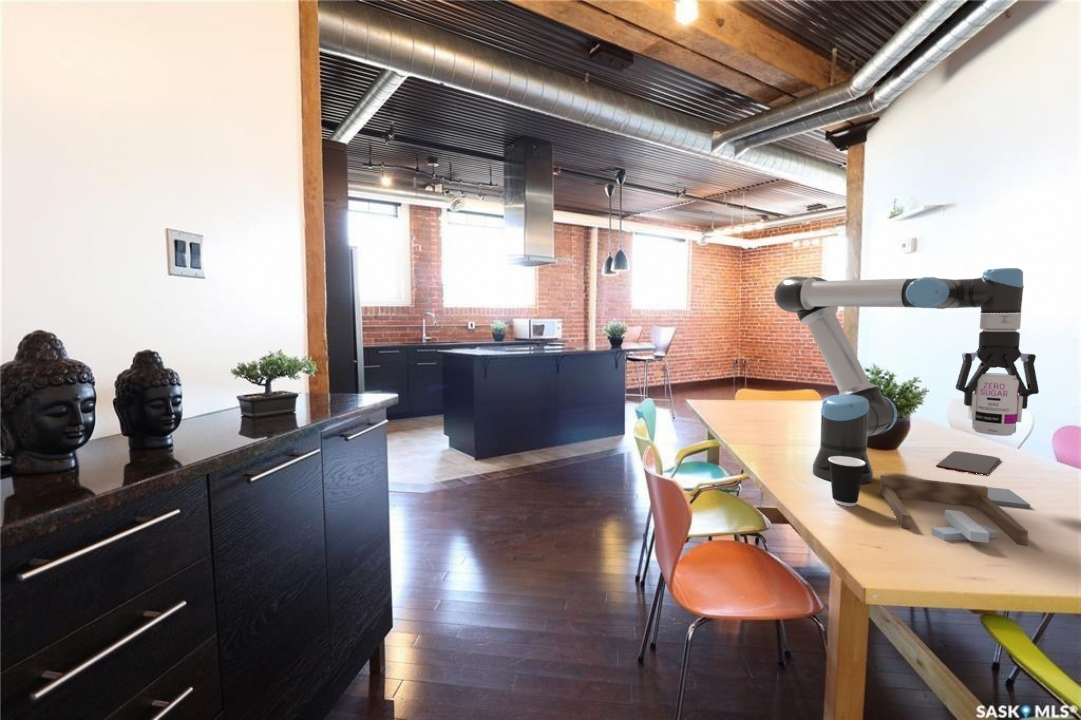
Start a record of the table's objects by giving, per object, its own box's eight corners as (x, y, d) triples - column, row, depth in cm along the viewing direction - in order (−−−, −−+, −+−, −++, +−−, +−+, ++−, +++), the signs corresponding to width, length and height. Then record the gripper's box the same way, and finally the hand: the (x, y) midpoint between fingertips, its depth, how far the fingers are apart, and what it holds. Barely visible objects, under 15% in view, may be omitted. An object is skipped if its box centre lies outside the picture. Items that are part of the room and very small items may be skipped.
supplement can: (1004, 430, 129) (1007, 373, 128) (1022, 437, 121) (1026, 376, 120) (965, 428, 132) (969, 372, 131) (981, 435, 124) (985, 375, 123)
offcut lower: (944, 543, 103) (944, 533, 103) (931, 536, 106) (932, 527, 106) (996, 540, 105) (997, 531, 104) (982, 534, 107) (983, 525, 107)
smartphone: (934, 464, 154) (953, 450, 170) (934, 469, 154) (952, 454, 170) (986, 474, 145) (1001, 457, 161) (986, 479, 145) (1001, 462, 161)
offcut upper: (988, 542, 99) (989, 533, 99) (970, 540, 100) (970, 531, 100) (960, 520, 110) (961, 511, 110) (944, 518, 111) (944, 509, 111)
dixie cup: (871, 508, 121) (873, 464, 120) (839, 509, 120) (841, 465, 120) (849, 497, 129) (851, 455, 128) (819, 498, 128) (821, 456, 127)
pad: (966, 501, 125) (967, 497, 125) (951, 486, 136) (951, 483, 136) (1029, 508, 120) (1030, 504, 120) (1008, 492, 131) (1009, 489, 131)
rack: (900, 527, 110) (901, 505, 109) (879, 493, 131) (880, 475, 131) (1028, 545, 101) (1030, 521, 100) (984, 505, 122) (985, 486, 122)
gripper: (951, 331, 126) (946, 419, 128) (1063, 331, 117) (1056, 426, 119) (942, 330, 133) (938, 414, 134) (1048, 330, 124) (1041, 420, 125)
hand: (993, 419), depth 126 cm, fingers closed on supplement can, 8 cm apart
